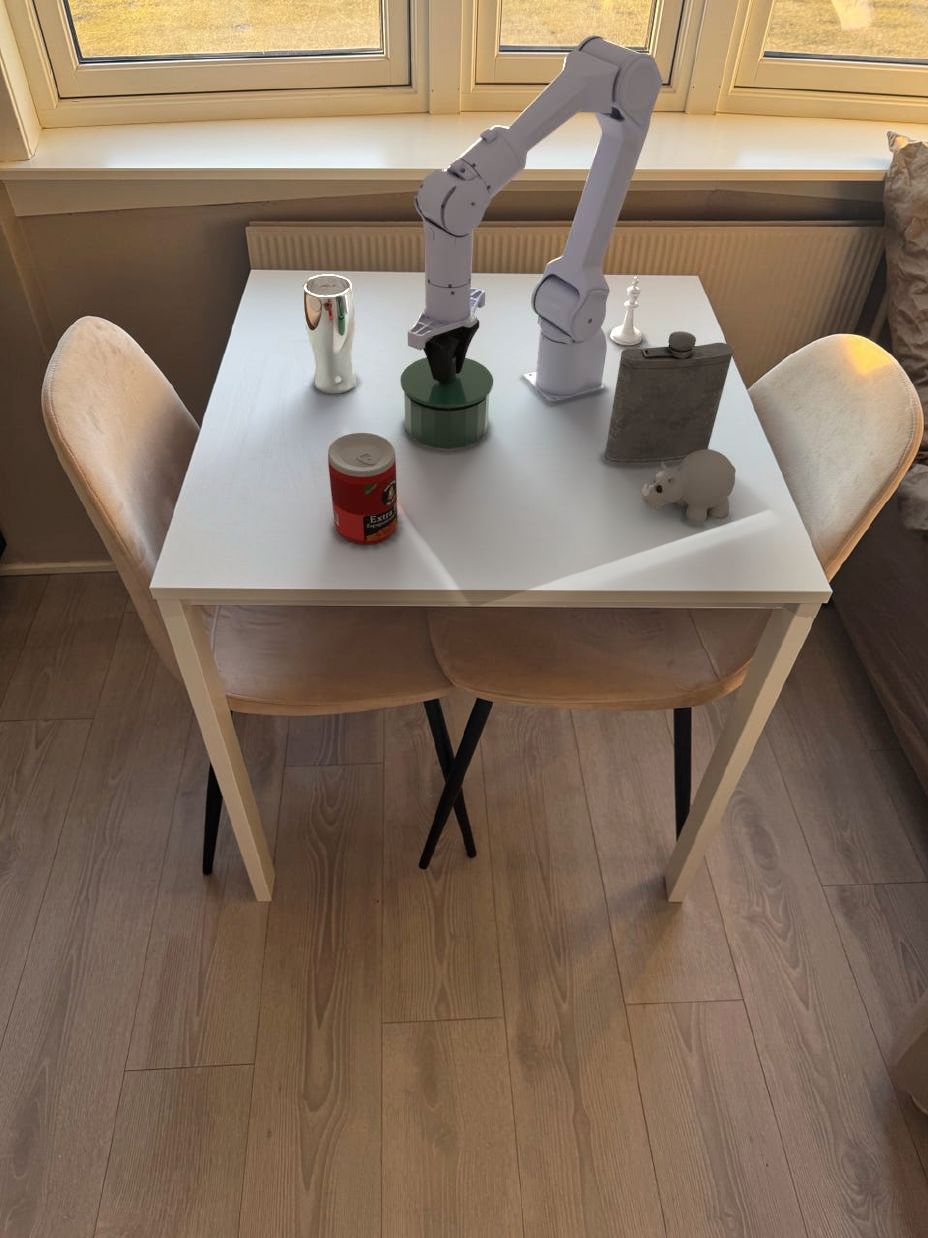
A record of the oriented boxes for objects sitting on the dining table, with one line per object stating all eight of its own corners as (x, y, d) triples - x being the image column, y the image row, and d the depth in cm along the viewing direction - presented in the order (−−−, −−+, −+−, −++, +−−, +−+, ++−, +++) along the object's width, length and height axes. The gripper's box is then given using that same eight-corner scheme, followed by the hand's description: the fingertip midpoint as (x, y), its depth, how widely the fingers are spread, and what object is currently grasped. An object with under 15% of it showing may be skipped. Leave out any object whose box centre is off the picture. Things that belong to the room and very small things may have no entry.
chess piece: (646, 335, 148) (657, 275, 141) (633, 348, 146) (643, 287, 138) (618, 326, 150) (628, 267, 143) (605, 339, 147) (614, 279, 140)
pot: (464, 397, 134) (465, 357, 130) (501, 439, 127) (504, 399, 123) (392, 415, 131) (390, 375, 126) (426, 460, 124) (425, 419, 119)
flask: (711, 461, 125) (743, 339, 112) (609, 469, 123) (630, 347, 110) (702, 445, 128) (732, 325, 115) (601, 453, 126) (621, 331, 113)
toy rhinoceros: (624, 501, 119) (635, 446, 112) (710, 488, 121) (725, 434, 115) (646, 537, 114) (658, 482, 108) (735, 523, 116) (752, 468, 110)
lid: (467, 354, 130) (468, 323, 127) (509, 399, 123) (511, 367, 119) (386, 373, 126) (385, 341, 123) (423, 420, 119) (423, 388, 115)
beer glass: (351, 398, 134) (344, 300, 123) (305, 392, 134) (294, 294, 124) (364, 373, 138) (359, 277, 128) (319, 367, 139) (310, 271, 128)
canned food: (374, 554, 110) (370, 480, 102) (321, 530, 113) (312, 456, 105) (410, 520, 115) (409, 446, 107) (358, 497, 118) (353, 424, 110)
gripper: (441, 309, 108) (440, 409, 117) (507, 264, 116) (501, 361, 126) (392, 292, 110) (395, 391, 120) (460, 249, 119) (458, 345, 129)
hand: (446, 375), depth 123 cm, fingers closed on lid, 2 cm apart
